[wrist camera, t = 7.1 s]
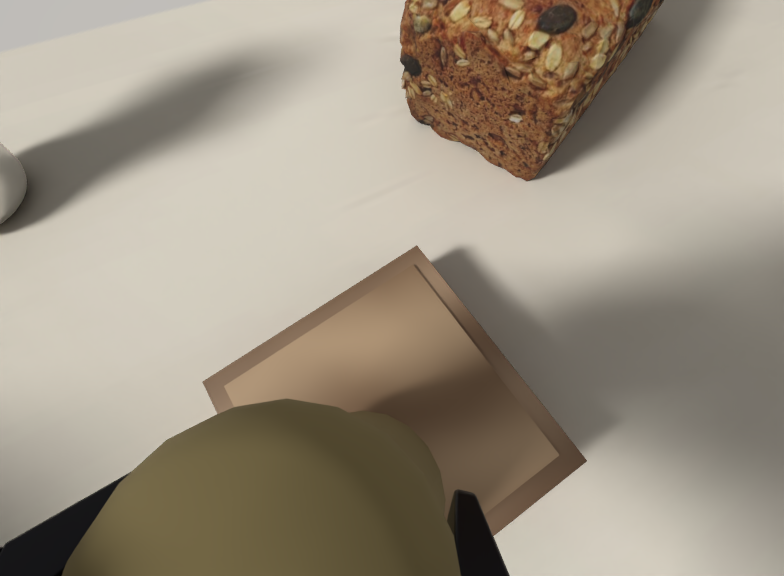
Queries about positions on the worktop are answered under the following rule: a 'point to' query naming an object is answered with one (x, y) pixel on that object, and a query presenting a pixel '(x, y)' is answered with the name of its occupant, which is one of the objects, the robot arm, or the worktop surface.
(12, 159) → the plastic bottle
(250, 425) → the cork
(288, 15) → the worktop surface
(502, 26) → the bread
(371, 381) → the plate
